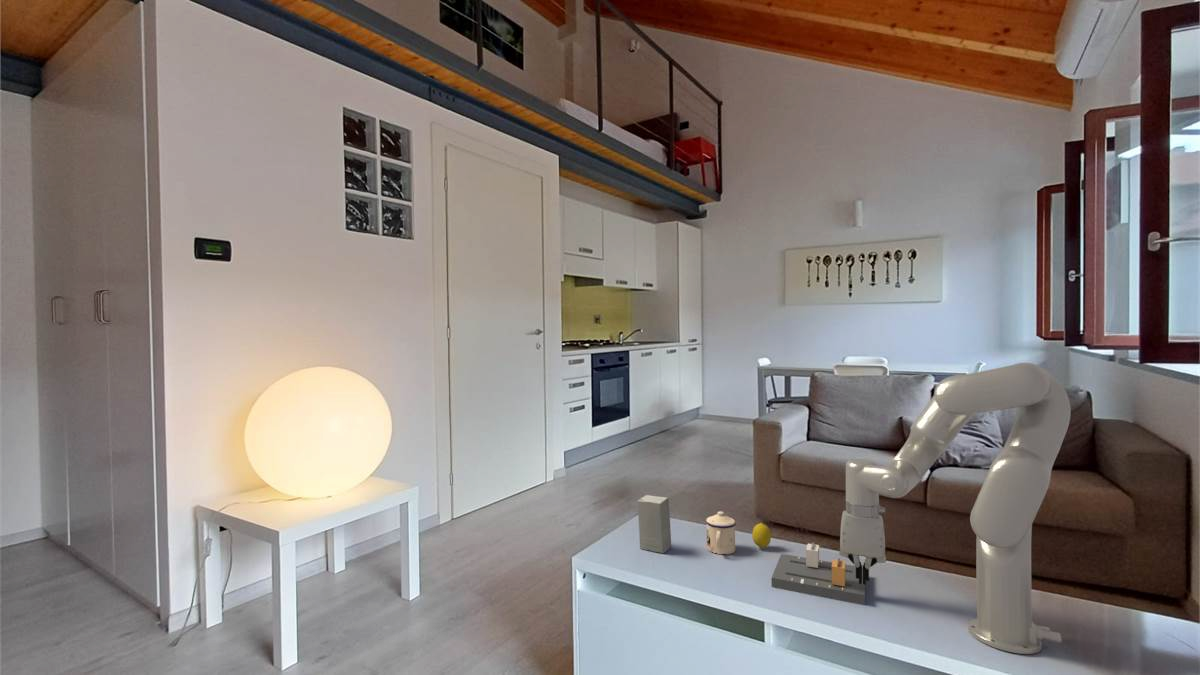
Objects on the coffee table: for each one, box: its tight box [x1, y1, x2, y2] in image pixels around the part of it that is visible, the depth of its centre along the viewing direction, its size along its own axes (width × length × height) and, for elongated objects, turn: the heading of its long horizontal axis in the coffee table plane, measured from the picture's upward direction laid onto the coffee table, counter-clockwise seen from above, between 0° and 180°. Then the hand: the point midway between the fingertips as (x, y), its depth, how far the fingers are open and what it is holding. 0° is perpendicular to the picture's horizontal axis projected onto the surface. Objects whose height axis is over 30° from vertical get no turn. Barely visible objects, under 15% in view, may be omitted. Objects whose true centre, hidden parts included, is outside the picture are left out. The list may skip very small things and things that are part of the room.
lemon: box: [752, 522, 772, 549], centre depth 166 cm, size 6×6×8 cm
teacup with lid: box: [705, 510, 737, 555], centre depth 164 cm, size 12×9×12 cm
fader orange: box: [831, 557, 846, 586], centre depth 137 cm, size 3×5×5 cm, turn 153°
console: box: [770, 553, 866, 606], centre depth 143 cm, size 22×18×2 cm
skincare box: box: [637, 494, 672, 554], centre depth 166 cm, size 8×7×16 cm
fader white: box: [805, 542, 820, 568], centre depth 148 cm, size 3×5×5 cm, turn 153°
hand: (862, 582), depth 134 cm, fingers closed
